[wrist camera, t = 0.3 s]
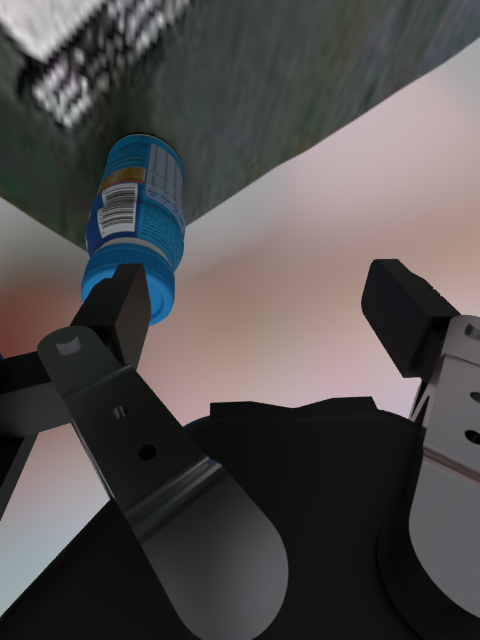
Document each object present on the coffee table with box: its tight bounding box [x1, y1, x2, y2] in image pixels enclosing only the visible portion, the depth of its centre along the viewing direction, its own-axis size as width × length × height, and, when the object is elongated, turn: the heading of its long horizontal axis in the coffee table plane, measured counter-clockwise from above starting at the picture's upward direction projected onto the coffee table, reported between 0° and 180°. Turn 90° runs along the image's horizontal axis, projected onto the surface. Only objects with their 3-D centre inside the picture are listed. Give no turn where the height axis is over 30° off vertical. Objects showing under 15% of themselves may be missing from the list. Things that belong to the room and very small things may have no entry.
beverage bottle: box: [81, 134, 185, 326], centre depth 31 cm, size 8×8×20 cm
